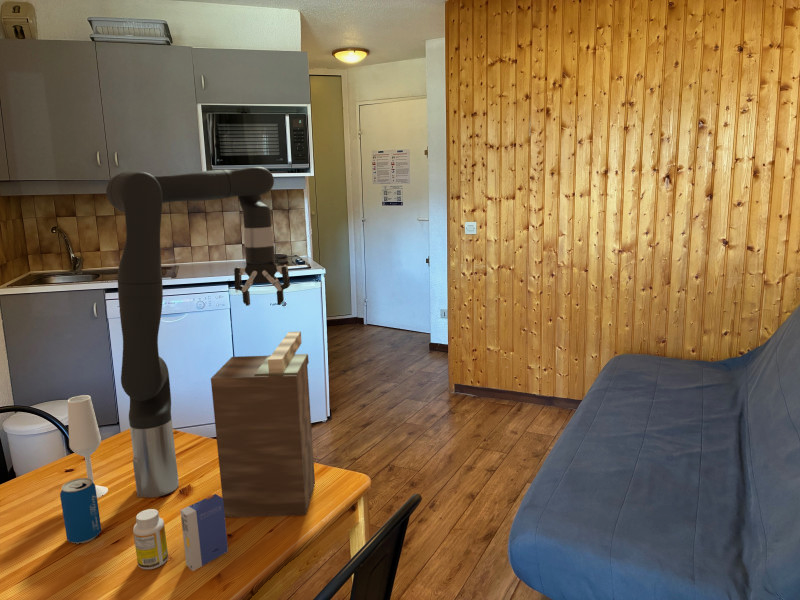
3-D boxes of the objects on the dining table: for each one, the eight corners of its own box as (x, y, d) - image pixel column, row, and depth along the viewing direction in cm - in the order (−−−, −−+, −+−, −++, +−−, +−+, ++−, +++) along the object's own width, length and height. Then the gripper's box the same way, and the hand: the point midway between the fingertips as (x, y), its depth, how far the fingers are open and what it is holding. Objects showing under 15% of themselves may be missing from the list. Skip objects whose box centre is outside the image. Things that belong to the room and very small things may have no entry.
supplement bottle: (159, 549, 119) (153, 503, 117) (174, 560, 116) (168, 512, 114) (132, 563, 115) (126, 515, 113) (146, 575, 112) (140, 525, 110)
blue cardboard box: (220, 546, 120) (215, 492, 118) (228, 551, 118) (223, 496, 116) (184, 565, 114) (178, 508, 112) (192, 571, 112) (186, 513, 110)
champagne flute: (75, 503, 139) (61, 405, 134) (78, 490, 145) (64, 396, 140) (107, 496, 141) (94, 400, 137) (108, 483, 147) (95, 392, 143)
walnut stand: (243, 481, 146) (231, 355, 140) (316, 479, 146) (307, 352, 140) (224, 517, 130) (210, 376, 124) (306, 515, 130) (296, 373, 124)
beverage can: (87, 547, 121) (79, 493, 119) (60, 544, 122) (51, 491, 120) (108, 529, 127) (101, 477, 125) (82, 527, 129) (74, 475, 126)
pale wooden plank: (289, 343, 149) (288, 331, 148) (301, 343, 149) (300, 331, 148) (268, 373, 125) (267, 359, 125) (283, 372, 125) (282, 359, 125)
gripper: (228, 246, 153) (233, 308, 156) (283, 245, 153) (287, 306, 156) (236, 244, 160) (241, 302, 163) (288, 242, 160) (292, 301, 163)
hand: (263, 304), depth 159 cm, fingers open, 8 cm apart
